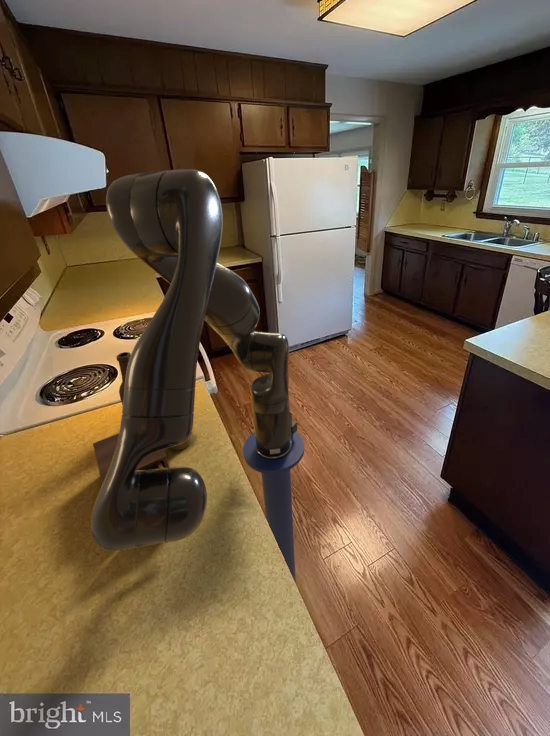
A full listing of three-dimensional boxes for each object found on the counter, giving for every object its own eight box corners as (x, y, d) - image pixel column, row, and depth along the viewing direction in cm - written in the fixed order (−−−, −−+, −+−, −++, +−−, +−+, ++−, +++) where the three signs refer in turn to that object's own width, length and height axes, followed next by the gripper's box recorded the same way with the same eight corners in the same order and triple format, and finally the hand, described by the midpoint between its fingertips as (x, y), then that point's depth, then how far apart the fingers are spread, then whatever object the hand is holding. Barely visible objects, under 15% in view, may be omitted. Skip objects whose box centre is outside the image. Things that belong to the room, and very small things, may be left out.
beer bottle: (140, 439, 91) (117, 364, 81) (123, 429, 95) (100, 357, 84) (164, 423, 97) (145, 351, 87) (147, 414, 101) (128, 345, 90)
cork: (192, 431, 93) (185, 400, 89) (193, 446, 88) (186, 413, 83) (169, 437, 91) (161, 405, 87) (169, 452, 86) (161, 419, 82)
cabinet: (174, 486, 77) (166, 456, 73) (114, 516, 70) (102, 485, 66) (157, 449, 87) (149, 421, 83) (104, 472, 81) (92, 443, 77)
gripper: (184, 455, 52) (175, 463, 66) (88, 501, 45) (101, 499, 59) (202, 502, 50) (188, 500, 64) (106, 557, 43) (114, 541, 57)
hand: (146, 499), depth 62 cm, fingers closed
